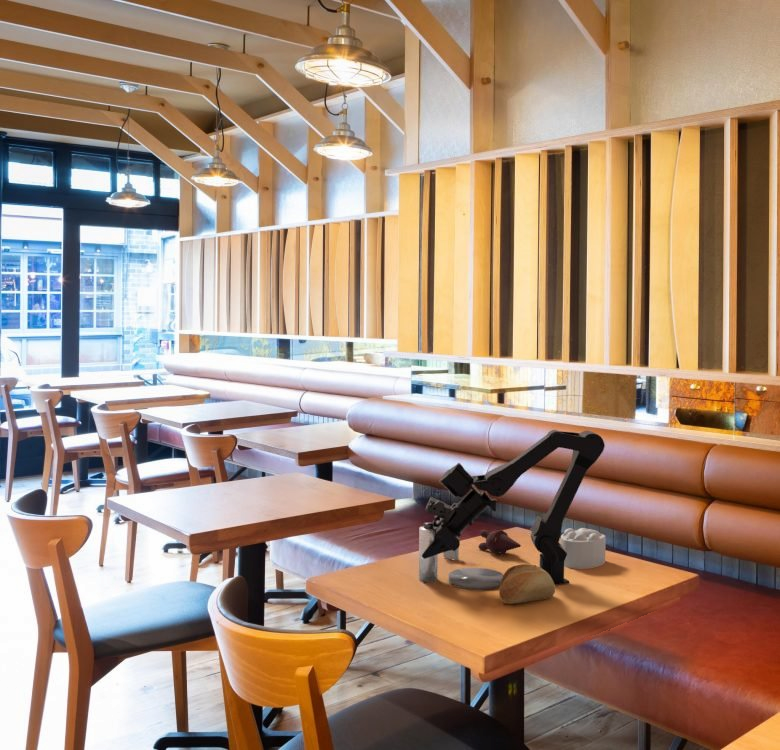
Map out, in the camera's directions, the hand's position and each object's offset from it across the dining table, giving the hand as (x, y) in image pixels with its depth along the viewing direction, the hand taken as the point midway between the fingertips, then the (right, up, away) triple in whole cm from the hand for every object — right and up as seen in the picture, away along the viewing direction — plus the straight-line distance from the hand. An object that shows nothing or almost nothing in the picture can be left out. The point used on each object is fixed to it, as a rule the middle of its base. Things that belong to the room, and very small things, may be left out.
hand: (422, 553), depth 203 cm
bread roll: (+23, -8, -15) cm, 29 cm away
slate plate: (+13, -7, -1) cm, 15 cm away
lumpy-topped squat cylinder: (+43, -6, +16) cm, 47 cm away
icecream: (+22, -6, +24) cm, 33 cm away
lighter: (+7, -6, +20) cm, 22 cm away
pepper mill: (+1, -7, 0) cm, 7 cm away
